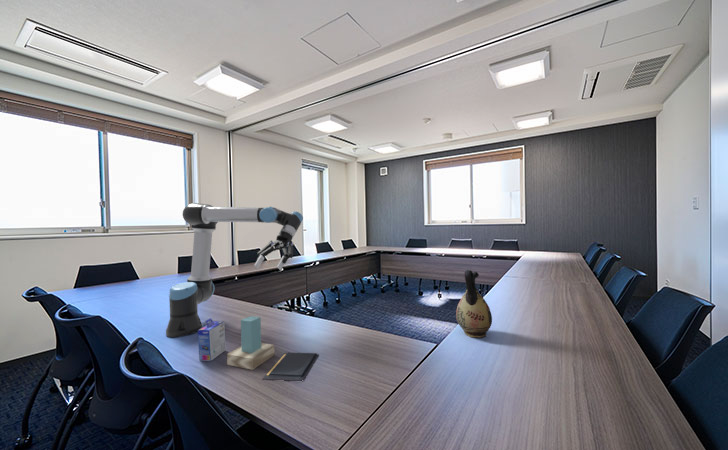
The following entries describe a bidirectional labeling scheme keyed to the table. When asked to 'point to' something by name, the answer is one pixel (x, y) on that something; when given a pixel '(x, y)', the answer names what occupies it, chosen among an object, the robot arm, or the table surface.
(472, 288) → the ceramic jug
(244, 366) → the birch riser
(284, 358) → the wallet
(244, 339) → the teal block
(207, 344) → the ink cartridge box
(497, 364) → the table surface
